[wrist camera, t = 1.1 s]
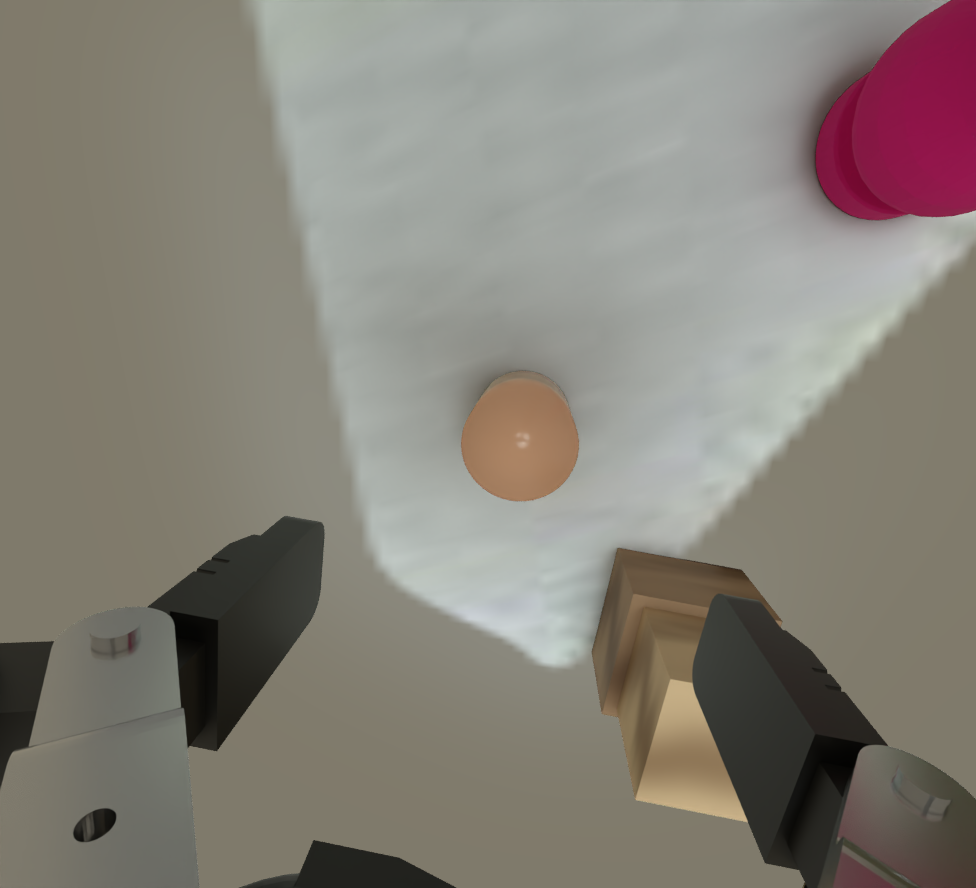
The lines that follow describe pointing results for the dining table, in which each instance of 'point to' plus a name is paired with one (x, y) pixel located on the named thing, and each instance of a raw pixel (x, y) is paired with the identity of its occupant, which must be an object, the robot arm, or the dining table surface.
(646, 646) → the tower top
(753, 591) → the tower base
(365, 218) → the dining table surface
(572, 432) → the rounded stamp handle
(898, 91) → the pepper mill
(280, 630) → the robot arm
